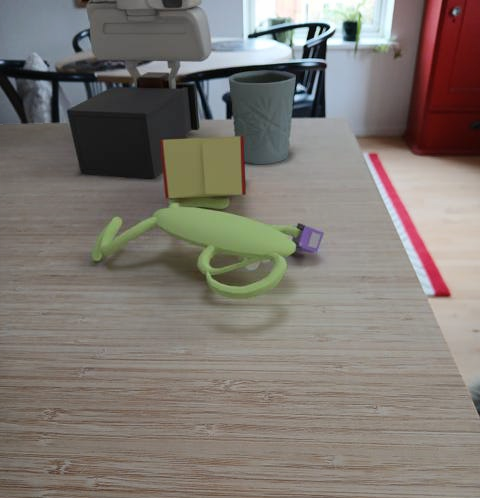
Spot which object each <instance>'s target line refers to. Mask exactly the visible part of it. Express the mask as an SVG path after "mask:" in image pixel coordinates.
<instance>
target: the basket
mask: <svg viewBox="0 0 480 498" xmlns="http://www.w3.org/2000/svg"><path fill="white" fill-rule="evenodd" d="M133 85H134V86H133V87H132V88H135V84H134V83H133ZM176 89H182V94H183V104H184V114H185V125H186V135H187V136H188V134H189V133H191V131H199V129H200V118H199V117H200V116H199V115H200V114H199V103H198V92H197V91H198V90H197V83H196V82H176Z"/></svg>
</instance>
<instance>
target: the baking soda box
mask: <svg viewBox="0 0 480 498" xmlns="http://www.w3.org/2000/svg"><path fill="white" fill-rule="evenodd" d="M160 143H161V154H162V165H163V172H162V173H163V175H162V176H163V186H164V197H165V199H179V198H186V197H208V196H226V197H228V196H245V195H247V189H246V162H245V160H244V136H235V135H234V136H213V137H212V136H211V137H192V138H191V137H190V138H187V139H168V140H160Z"/></svg>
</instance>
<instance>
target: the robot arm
mask: <svg viewBox="0 0 480 498" xmlns="http://www.w3.org/2000/svg"><path fill="white" fill-rule="evenodd" d="M202 3H203V0H88V1H87V4H86V15H87V19H88V22H89V37H90V46H91V53H92V55H93V56H94V57H95V58H96V60H98V61H124V66H125V69H126V70H127V72H128V73H129V75H130V77H131V78H132V79H133V85H134V84H135V88H140V85H139V78H138V77H140V76H142V74H141V73H140V71H139V69H138V68H137V66H139V62H167V68H168V69H170V71H169V77H167V78H165V79H163V82H164V85H165V86H164V88H166V89H176V83H177V82H176V78H177V75H178V73H179V71H180V68H181V62H187V63H188V62H190V63H191V62H193V63H194V62H195V63H196V62H197V63H200V62H204V61H206V60H207V59H208V58H210V56H211V54H212V39H211V31H210V25H209V20H208V16H207V13H206V11H204V9H203V8H202V7H200V5H201V4H202Z"/></svg>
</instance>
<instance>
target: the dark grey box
mask: <svg viewBox="0 0 480 498" xmlns="http://www.w3.org/2000/svg"><path fill="white" fill-rule="evenodd" d="M66 114H67V119H68V123H69V127H70V132H71V136H72V140H73V145H74V149H75V155H76V158H77V163H78V167H79V171H80V175H81V174H82V175H93V176H109V177H121V178H135V179H149V180H155V179H157V177H158V176H160V175H161V174H162V173H163V165H162V154H161V143H160V140H168V139H188V134H187V135H186V125H185V114H184V104H183V94H182V89H166V88H133V87H129V86H128V87H127V86H126V87H124V86H123V87H122V86H111V87H109V88H107V89H105V90H103V91H102V92H99V93H97V94H96V95H93V96H92V97H89V98H88V99H86V100H84V101H82V102H80V103H78V104H76V105H75V106H72V107H71V108H68V109H66Z"/></svg>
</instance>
